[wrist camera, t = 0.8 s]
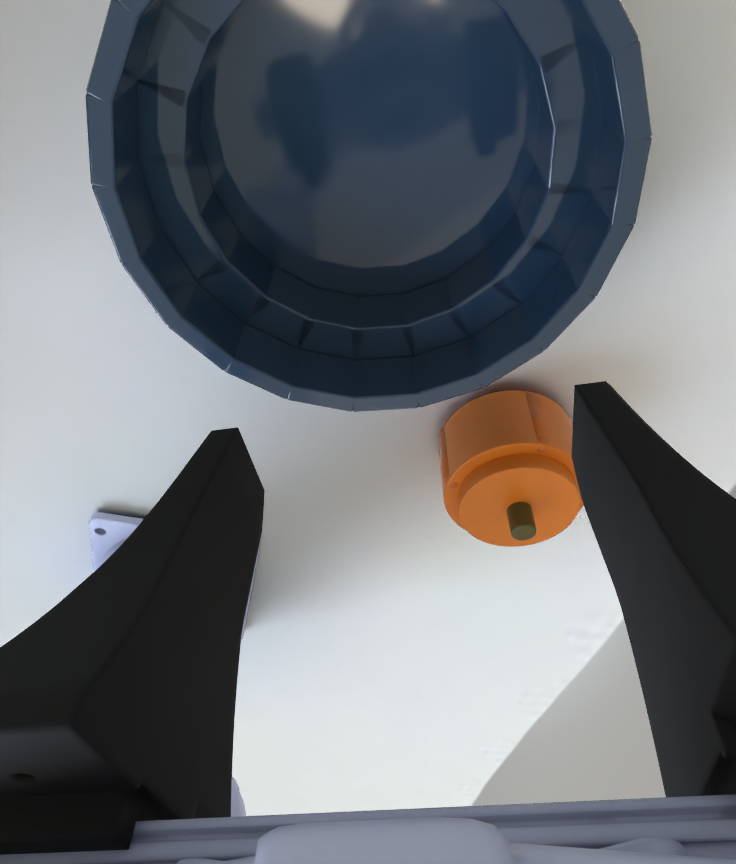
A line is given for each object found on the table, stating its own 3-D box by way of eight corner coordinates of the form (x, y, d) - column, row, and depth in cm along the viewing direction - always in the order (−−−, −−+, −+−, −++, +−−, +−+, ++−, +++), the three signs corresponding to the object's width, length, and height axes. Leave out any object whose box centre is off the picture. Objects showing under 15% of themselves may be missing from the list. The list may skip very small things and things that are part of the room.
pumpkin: (539, 488, 29) (564, 588, 25) (419, 467, 28) (425, 567, 24) (596, 394, 25) (635, 494, 21) (460, 367, 25) (474, 466, 21)
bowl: (500, 361, 24) (519, 443, 21) (143, 289, 23) (101, 366, 19) (695, -68, 16) (778, -45, 12) (138, -242, 14) (61, -269, 11)
